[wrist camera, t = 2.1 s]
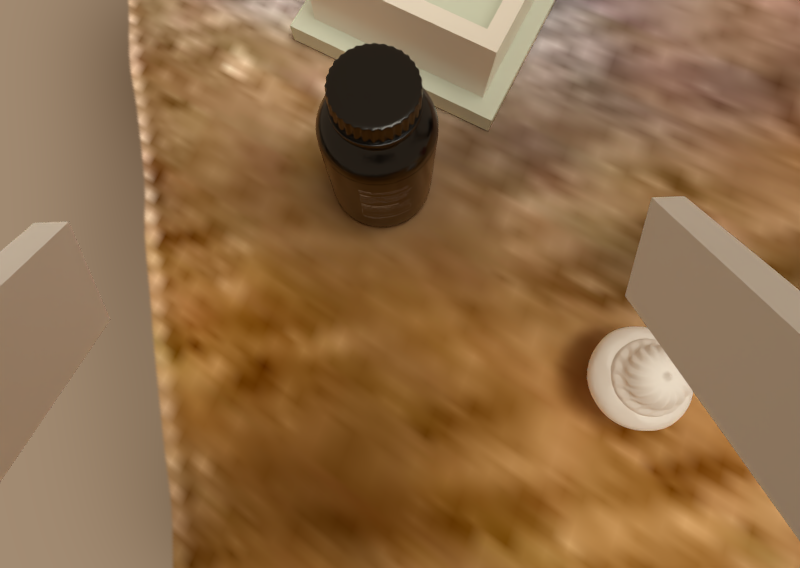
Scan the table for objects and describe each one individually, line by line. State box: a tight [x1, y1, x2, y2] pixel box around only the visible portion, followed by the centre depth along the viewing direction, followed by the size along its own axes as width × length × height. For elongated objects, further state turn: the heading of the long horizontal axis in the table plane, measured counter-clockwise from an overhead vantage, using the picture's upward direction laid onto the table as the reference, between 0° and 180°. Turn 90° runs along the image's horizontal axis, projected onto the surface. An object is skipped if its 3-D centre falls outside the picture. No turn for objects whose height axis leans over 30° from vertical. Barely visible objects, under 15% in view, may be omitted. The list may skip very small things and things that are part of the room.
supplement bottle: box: [316, 43, 438, 227], centre depth 31 cm, size 7×7×12 cm
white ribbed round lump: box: [586, 326, 693, 431], centre depth 31 cm, size 6×6×7 cm
